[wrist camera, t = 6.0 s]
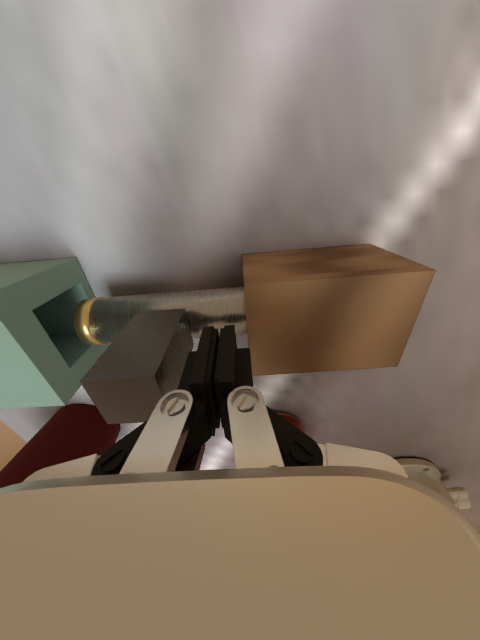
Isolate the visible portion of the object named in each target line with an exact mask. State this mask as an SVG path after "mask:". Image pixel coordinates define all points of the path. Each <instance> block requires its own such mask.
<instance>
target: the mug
mask: <svg viewBox="0 0 480 640" xmlns="http://www.w3.org/2000/svg"><path fill="white" fill-rule="evenodd" d="M119 431H120V425H119V424H107V422H106V421H105V419H104V418H103V416H102V415H101V413H100V412H99V410H98V409H97V407H94V406H89V405H83V404H73V405H68V406H65V407H63V408H61V409H60V410H59V411H58V412H57V413H56V414H55V415H54V416H53V417H52V418H51V419H50V420H49V421H48V422H47V423H46V424H45V425H44V426H43V427H42V428H41V429H40V430H39V431H38V432H37V433H36V435H35V436H34V437H33V438H32V439H31V440H30V441H29V442H28V443H27V444H26V445H25V446H24V447H23V448H22V449H21V450H20V451H19V452H18V453H17V454H16V456H15V457H14V458H13V459H12V460H11V461H10V462H9V463H8V464H7V465H6V466H5V467H4V468H3V469H2V470H1V471H0V488H3V487H6V486H10V485H13V484H18V483H22V482H23V481H24V480H25V479H26V478H27V477H29V476H30V475H32V474H33V473H34V472H36V471H38V470H41V469H43V468H46V467H50V466H54V465H57V464H61V463H64V462H68V461H72V460H75V459H79V458H83V457H86V456H90V455H93V454H97V455H98V456H100V455H101V454H102V453H104V452H105V451H106V450H107V449H108V448H110V447H111V446H112V445H114V444H115V442H116V439H117V437H118V434H119Z"/></svg>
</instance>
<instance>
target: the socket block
mask: <svg viewBox="0 0 480 640" xmlns="http://www.w3.org/2000/svg"><path fill="white" fill-rule="evenodd" d="M87 298H95V296H94V294H93V292H92V290H91V288H90V286H89V283H88V281H87V279H86V277H85V275H84V273H83V271H82V268H81V266H80V264H79V262H78V260H77V258H76V257H75V258H63V259H51V260H39V261H27V262H16V263H4V264H0V409H13V408H30V407H46V406H63V405H66V404H67V402H68V401H69V400H70V399H71V397H72V396H73V395H74V394H75V392H76V391H77V390H78V389H79V387H80V386H81V385H82V384H81V382H80V380H81V379H82V378H83V377H84V375H85V374H86V373H87V372H88V371H89V369H90V368H91V367H92V366H93V365H94V363H95V362H96V361H97V360H98V359H99V357H100V356H101V355H102V354H103V353H104V351H105V350H106V349H107V348H108V347H109V345H110V344H106V345H87V344H85V343H84V342H82V341H81V340H80V338H79V337H78V335H77V333H76V331H75V328H74V322H73V318H74V312H75V309H76V307H77V305H78V304H79V303H80V302H81V301H82V300H84V299H87Z"/></svg>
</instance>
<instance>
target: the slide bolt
mask: <svg viewBox="0 0 480 640" xmlns="http://www.w3.org/2000/svg"><path fill="white" fill-rule="evenodd" d="M73 322H74V328H75V331H76V333H77V335H78V337H79V338H80V340H81V341H82V342H84V343H85V344H87V345H106V344H110V345H109V347H108V348H107V349H106V350H105V351H104V353H103V354H102V355H101V356H100V357H99V359H98V360H97V361H96V362H95V363H94V365H93V366H92V367H91V368H90V369H89V371H88V372H87V373H86V374H85V375H84V377H83V378H82V379H81V380H80V382H81V384H82V386H83V387H84V389H85V390H86V392H87V393H88V395H89V396H90V398H91V399H92V401H93V402H94V404H95V406H96V407H97V409H98V410H99V412H100V413H101V415H102V416H103V418H104V419H105V421H106V422H107V424H120V423H137V422H146V421H147V420H149V418H150V416H151V414H152V413H153V411H154V409H155V407H156V405H157V403H158V402H159V400H160V399H161V398H162V397H163V396H164V395H165V394H167V393H169V392H171V391H174V390H177V389H178V386H179V383H180V379H181V376H182V373H183V369H184V366H185V363H186V359H187V356H188V353H189V352H192V349H193V345H194V343H193V339H192V338H200V337H201V333H202V329H203V327H208V326H214V329H218V332H219V336H220V329H221V328H224V325H235V333H236V335H245V334H248V333H247V319H246V306H245V293H244V286H243V287H230V288H217V289H204V290H192V291H179V292H166V293H153V294H140V295H127V296H114V297H98V298H87V299H84V300H82V301H81V302H80V303H79V304H78V305H77V307H76V309H75V312H74V318H73Z"/></svg>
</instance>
